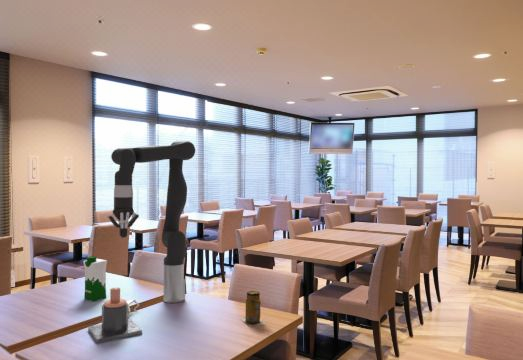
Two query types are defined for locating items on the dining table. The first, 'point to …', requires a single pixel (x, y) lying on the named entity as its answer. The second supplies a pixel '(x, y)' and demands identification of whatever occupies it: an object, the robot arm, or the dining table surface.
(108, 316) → the flanged pipe socket
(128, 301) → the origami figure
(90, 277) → the milk carton
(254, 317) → the condiment
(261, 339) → the dining table surface
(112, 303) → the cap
